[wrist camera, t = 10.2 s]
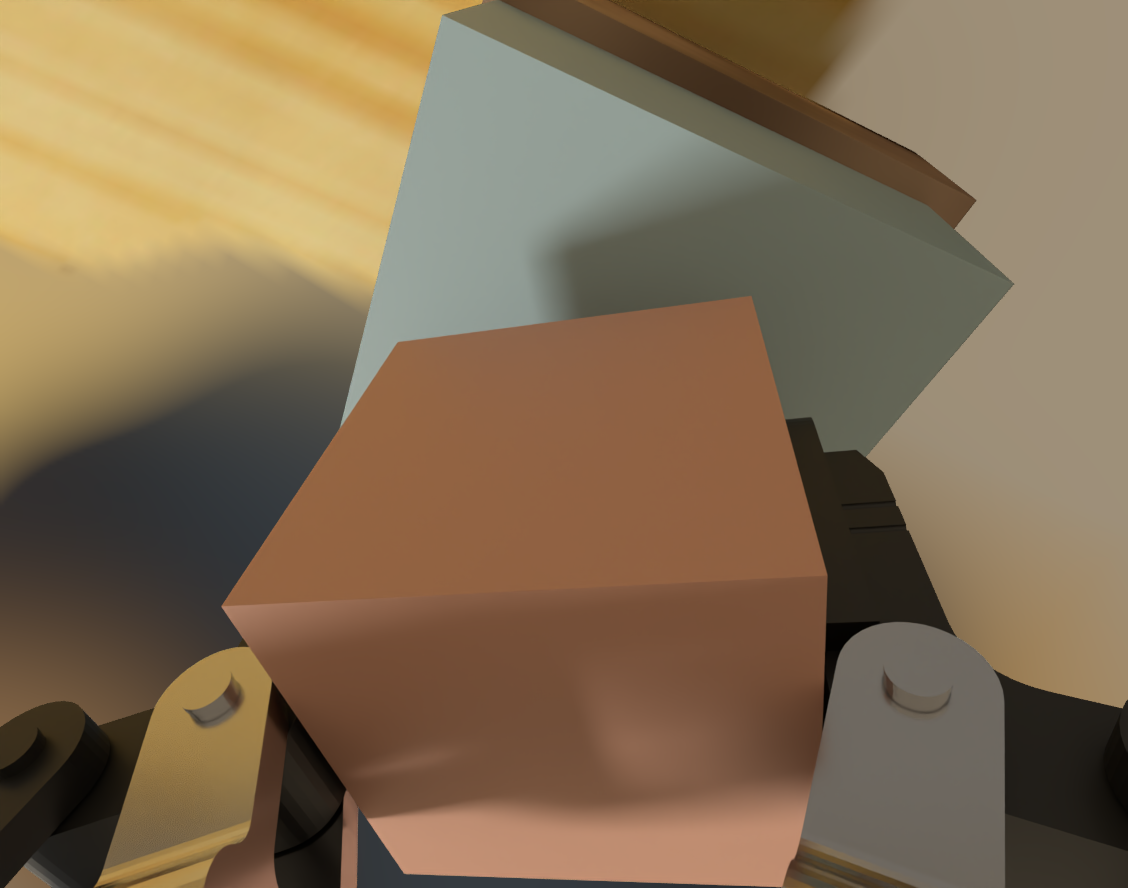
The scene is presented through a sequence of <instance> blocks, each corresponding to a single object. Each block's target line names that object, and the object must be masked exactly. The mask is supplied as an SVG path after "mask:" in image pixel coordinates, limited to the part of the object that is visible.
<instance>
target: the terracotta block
mask: <svg viewBox="0 0 1128 888" xmlns="http://www.w3.org/2000/svg"><path fill="white" fill-rule="evenodd" d="M827 577H828V575H827V572H826V568H825V564H824V561H823V557H822V553H821V550H820V546H819V542H818V539H817V535H816V531H815V528H814V524H813V520H812V517H811V513H810V509H809V506H808V502H807V498H806V494H805V491H804V487H803V483H802V480H801V476H800V472H799V469H798V465H797V461H796V458H795V454H794V450H793V447H792V443H791V439H790V436H789V432H788V428H787V425H786V421H785V417H784V414H783V410H782V406H781V403H780V399H779V395H778V392H777V388H776V384H775V381H774V377H773V373H772V370H771V366H770V362H769V359H768V355H767V351H766V347H765V344H764V340H763V336H762V333H761V329H760V325H759V322H758V318H757V314H756V311H755V307H754V303H753V300H752V296H747V297H739V298H731V299H724V300H716V301H708V302H701V303H693V304H685V305H678V306H670V307H663V308H655V309H647V310H640V311H632V312H624V313H617V314H609V315H601V316H594V317H586V318H578V319H571V320H563V321H555V322H548V323H540V324H532V325H525V326H517V327H509V328H502V329H494V330H486V331H479V332H471V333H463V334H456V335H448V336H440V337H433V338H425V339H417V340H410V341H402V342H397V344H396V345H395V347H394V348H393V350H392V351H391V353H390V354H389V356H388V357H387V359H386V360H385V362H384V363H383V365H382V366H381V368H380V369H379V371H378V372H377V374H376V375H375V377H374V378H373V380H372V381H371V383H370V384H369V386H368V387H367V389H366V390H365V392H364V393H363V395H362V396H361V398H360V399H359V401H358V402H357V404H356V405H355V407H354V408H353V410H352V411H351V413H350V414H349V416H348V417H347V419H346V420H345V422H344V423H343V425H342V426H341V428H340V429H339V431H338V433H337V434H336V435H335V437H334V438H333V440H332V441H331V443H330V444H329V446H328V447H327V449H326V450H325V452H324V453H323V455H322V456H321V458H320V459H319V461H318V462H317V464H316V465H315V467H314V468H313V470H312V471H311V473H310V474H309V476H308V477H307V479H306V480H305V482H304V483H303V485H302V486H301V488H300V489H299V491H298V492H297V494H296V495H295V497H294V498H293V500H292V501H291V503H290V504H289V506H288V507H287V509H286V510H285V512H284V513H283V515H282V516H281V518H280V519H279V521H278V523H277V524H276V525H275V527H274V529H273V530H272V531H271V533H270V534H269V536H268V537H267V539H266V540H265V542H264V544H263V545H262V546H261V548H260V549H259V551H258V552H257V554H256V555H255V557H254V558H253V560H252V561H251V563H250V564H249V566H248V567H247V569H246V570H245V572H244V573H243V575H242V576H241V578H240V579H239V581H238V582H237V584H236V585H235V587H234V588H233V590H232V591H231V593H230V594H229V596H228V597H227V599H226V600H225V602H224V603H223V605H222V608H223V609H224V611H225V612H226V614H227V615H228V617H229V618H230V620H231V621H232V623H233V624H234V626H235V627H236V628H237V630H238V631H239V633H240V634H241V636H242V637H243V639H244V640H245V642H246V643H247V645H248V646H249V647H250V649H251V650H252V652H253V653H254V655H255V656H256V658H257V659H258V661H259V662H260V664H261V665H262V666H263V668H264V669H265V671H266V672H267V674H268V675H269V677H270V678H271V680H272V681H273V683H274V684H275V685H276V687H277V688H278V690H279V691H280V693H281V694H282V696H283V697H284V699H285V700H286V702H287V703H288V704H289V706H290V707H291V709H292V710H293V712H294V713H295V715H296V716H297V718H298V719H299V720H300V722H301V723H302V725H303V726H304V728H305V729H306V731H307V732H308V734H309V735H310V737H311V738H312V739H313V741H314V742H315V744H316V745H317V747H318V748H319V750H320V751H321V753H322V754H323V756H324V757H325V758H326V760H327V761H328V763H329V764H330V766H331V767H332V769H333V770H334V772H335V773H336V775H337V776H338V777H339V779H340V780H341V782H342V783H343V785H344V786H345V788H346V789H347V791H348V792H349V794H350V795H351V796H352V798H353V799H354V801H355V802H356V804H357V805H358V807H359V808H360V810H361V811H362V812H363V814H364V815H365V817H366V818H367V820H368V821H369V823H370V824H371V825H372V827H373V828H374V830H375V831H376V833H377V834H378V836H379V837H380V839H381V840H382V842H383V843H384V845H385V846H386V848H387V849H388V850H389V852H390V853H391V855H392V856H393V858H394V859H395V861H396V862H397V864H398V865H399V867H400V868H401V869H402V871H403V872H404V873H405V874H425V875H453V876H455V875H457V876H483V877H511V878H512V877H513V878H540V879H568V880H596V881H626V882H654V883H683V884H713V885H739V886H767V887H782V886H783V882H784V878H785V875H786V872H787V869H788V866H789V864H790V861H791V860H792V859H794V858H795V855H796V853H797V849H798V846H799V842H800V837H801V833H802V828H803V823H804V819H805V814H806V809H807V804H808V799H809V795H810V790H811V785H812V780H813V775H814V770H815V766H816V761H817V756H818V751H819V746H820V742H821V737H822V727H823V697H824V667H825V637H826V607H827Z"/></svg>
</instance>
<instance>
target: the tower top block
mask: <svg viewBox="0 0 1128 888" xmlns="http://www.w3.org/2000/svg"><path fill="white" fill-rule="evenodd" d="M1012 285H1014V283H1012V281H1010V280H1009V279H1008V278H1007V277H1006V276H1005V275H1004V274H1003V273H1002V272H1000V271H999V270H998V269H997V268H996V267H995V266H994V265H993V264H992V263H991V262H989V261H988V260H987V259H986V258H985V257H984V256H983V255H982V254H980V252H979V251H977V250H976V249H975V248H974V247H973V246H972V245H971V244H970V243H969V242H967V241H966V240H965V239H964V238H963V237H962V236H961V235H960V234H959V233H958V232H956V231H955V230H954V229H953V228H952V227H951V226H950V225H949V224H948V223H947V222H945V221H944V220H943V219H942V218H941V217H940V216H939V215H938V214H937V213H936V212H934V211H933V210H932V209H931V208H930V207H929V206H928V205H926V204H924V203H922V202H920V201H917V200H915V199H913V198H911V197H909V196H907V195H905V194H903V193H901V192H899V191H897V190H895V189H892V188H890V187H888V186H886V185H884V184H882V183H880V182H878V181H876V180H874V179H872V178H869V177H867V176H865V175H863V174H861V173H859V172H857V171H855V170H853V169H851V168H849V167H847V166H844V165H842V164H840V163H838V162H836V161H834V160H832V159H830V158H828V157H826V156H824V155H822V154H819V153H817V152H815V151H813V150H811V149H809V148H807V147H805V146H803V145H801V144H799V143H796V142H794V141H792V140H790V139H788V138H786V137H784V136H782V135H780V134H778V133H776V132H774V131H771V130H769V129H767V128H765V127H763V126H761V125H759V124H757V123H755V122H753V121H751V120H749V119H746V118H744V117H742V116H740V115H738V114H736V113H734V112H732V111H730V110H728V109H726V108H724V107H721V106H719V105H717V104H715V103H713V102H711V101H709V100H707V99H705V98H703V97H701V96H698V95H696V94H694V93H692V92H690V91H688V90H686V89H684V88H682V87H680V86H678V85H676V84H673V83H671V82H669V81H667V80H665V79H663V78H661V77H659V76H657V75H655V74H653V73H651V72H648V71H646V70H644V69H642V68H640V67H638V66H636V65H634V64H632V63H630V62H628V61H626V60H623V59H621V58H619V57H617V56H615V55H613V54H611V53H609V52H607V51H605V50H603V49H600V48H598V47H596V46H594V45H592V44H590V43H588V42H586V41H584V40H582V39H580V38H577V37H575V36H573V35H571V34H569V33H567V32H565V31H563V30H561V29H559V28H557V27H554V26H552V25H550V24H548V23H546V22H544V21H542V20H540V19H538V18H536V17H534V16H532V15H529V14H527V13H525V12H523V11H521V10H519V9H517V8H515V7H513V6H511V5H509V4H506V3H504V2H502V1H500V0H494V1H491V2H487V3H484V4H480V5H476V6H473V7H469V8H466V9H462V10H459V11H455V12H452V13H448V14H444V15H442V18H441V22H440V26H439V30H438V34H437V38H436V42H435V46H434V50H433V54H432V58H431V62H430V67H429V71H428V75H427V79H426V83H425V87H424V91H423V95H422V99H421V103H420V107H419V111H418V115H417V119H416V123H415V127H414V131H413V135H412V139H411V143H410V147H409V151H408V155H407V159H406V163H405V168H404V172H403V176H402V180H401V184H400V188H399V192H398V196H397V200H396V204H395V208H394V212H393V216H392V220H391V224H390V228H389V232H388V236H387V240H386V244H385V248H384V252H383V256H382V260H381V264H380V269H379V273H378V277H377V281H376V285H375V289H374V293H373V297H372V301H371V305H370V309H369V313H368V317H367V321H366V326H365V329H364V334H363V337H362V341H361V346H360V349H359V354H358V357H357V361H356V365H355V370H354V374H353V378H352V382H351V386H350V390H349V394H348V398H347V402H346V406H345V410H344V414H343V418H342V422H341V426H342V425H343V423H344V422H345V420H346V419H347V417H348V416H349V414H350V413H351V411H352V410H353V408H354V407H355V405H356V404H357V402H358V401H359V399H360V398H361V396H362V395H363V393H364V392H365V390H366V389H367V387H368V386H369V384H370V383H371V381H372V380H373V378H374V377H375V375H376V374H377V372H378V371H379V369H380V368H381V366H382V365H383V363H384V362H385V360H386V359H387V357H388V356H389V354H390V353H391V351H392V350H393V348H394V347H395V345H396V344H397V342H402V341H410V340H417V339H425V338H433V337H440V336H448V335H456V334H463V333H471V332H479V331H486V330H494V329H502V328H509V327H517V326H525V325H532V324H540V323H548V322H555V321H563V320H571V319H578V318H586V317H594V316H601V315H609V314H617V313H624V312H632V311H640V310H647V309H655V308H663V307H670V306H678V305H685V304H693V303H701V302H708V301H716V300H724V299H731V298H739V297H747V296H752V300H753V303H754V307H755V311H756V314H757V318H758V322H759V325H760V329H761V333H762V336H763V340H764V344H765V347H766V351H767V355H768V359H769V362H770V366H771V370H772V373H773V377H774V381H775V384H776V388H777V392H778V395H779V399H780V403H781V406H782V410H783V414H784V417H785V419H795V418H805V417H811V418H812V419H813V421H814V424H815V427H816V430H817V433H818V436H819V439H820V442H821V445H822V448H823V451H824V452H835V451H847V450H857V451H859V452H860V453H861V454H862V455H863V456H864V457H866V456H867V455H868V454H869V453H870V451H871V450H872V449H873V448H874V447H875V445H876V444H877V443H878V442H879V441H880V440H881V438H882V437H883V436H884V435H885V434H886V433H887V432H888V430H889V429H890V428H891V427H892V426H893V424H894V423H895V422H896V421H897V420H898V419H899V417H900V416H901V415H902V414H903V413H904V412H905V411H906V409H907V408H908V407H909V406H910V405H911V404H912V402H913V401H914V400H915V399H916V398H917V397H918V395H919V394H920V393H921V392H922V391H923V390H924V388H925V387H926V386H927V385H928V384H929V383H930V381H931V380H932V379H933V378H934V377H935V376H936V374H937V373H938V372H939V371H940V370H941V369H942V367H943V366H944V365H945V364H946V363H947V361H948V360H949V359H950V358H951V357H952V356H953V355H954V353H955V352H956V351H957V350H958V349H959V347H960V346H961V345H962V344H963V343H964V342H965V341H966V339H967V338H968V337H969V336H970V335H971V334H972V332H973V331H974V330H975V329H976V328H977V327H978V325H979V324H980V323H981V322H982V320H984V318H985V317H986V316H987V315H988V314H989V312H990V311H991V310H992V309H993V308H994V307H995V306H996V304H997V303H998V302H999V301H1000V300H1001V298H1002V297H1003V296H1004V295H1005V294H1006V293H1007V292H1008V290H1009V289H1010V288H1011V287H1012ZM341 426H340V428H341Z"/></svg>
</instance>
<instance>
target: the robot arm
mask: <svg viewBox="0 0 1128 888" xmlns="http://www.w3.org/2000/svg"><path fill="white" fill-rule="evenodd" d="M785 421H786V425H787V428H788V432H789V436H790V439H791V443H792V447H793V450H794V454H795V458H796V461H797V465H798V469H799V472H800V476H801V480H802V483H803V487H804V491H805V494H806V498H807V502H808V506H809V509H810V513H811V517H812V520H813V524H814V528H815V531H816V535H817V539H818V542H819V546H820V550H821V553H822V557H823V561H824V564H825V568H826V572H827V575H828V577H827V607H826V637H825V667H824V697H823V727H822V737H821V742H820V746H819V751H818V756H817V761H816V766H815V770H814V775H813V780H812V785H811V790H810V795H809V799H808V804H807V809H806V814H805V819H804V823H803V828H802V833H801V837H800V842H799V846H798V849H797V853H796V855H795V858H794V859H792V860H791V861H790V864H789V866H788V869H787V872H786V875H785V878H784V882H783V886H782V888H1128V700H1127V701H1126V703H1125V705H1124V707H1123V709H1122V708H1118V707H1114V706H1109V705H1104V704H1101V703H1096V702H1092V701H1088V700H1083V699H1079V698H1074V697H1070V696H1066V695H1062V694H1057V693H1053V692H1048V691H1045V690H1041V689H1038V688H1034V687H1031V686H1028V685H1025V684H1023V683H1020V682H1017V681H1015V680H1013V679H1010V678H1009V677H1007V676H1005V675H1003V674H1001V673H999V672H997V671H995V670H994V669H993V668H992V667H991V666H990V664H989V663H988V662H987V661H986V660H985V658H984V657H983V656H982V655H980V654H979V653H978V652H977V651H976V650H975V649H974V648H973V647H971V646H970V645H968V644H967V643H965V642H964V641H963V640H961V639H959V638H957V636H956V635H955V634H954V632H953V630H952V628H951V626H950V625H949V623H948V620H947V618H946V616H945V614H944V611H943V609H942V607H941V604H940V602H939V600H938V597H937V595H936V593H935V590H934V588H933V586H932V583H931V581H930V579H929V577H928V574H927V572H926V570H925V567H924V565H923V563H922V560H921V558H920V556H919V553H918V551H917V549H916V546H915V544H914V542H913V540H912V537H911V535H910V533H909V531H907V530H906V524H905V521H904V519H903V516H902V514H901V512H900V509H899V508H898V506H896V502H895V501H896V500H895V498H894V496H893V493H892V491H891V489H890V487H889V484H888V482H887V479H886V477H885V475H884V473H883V472H882V471H881V470H880V469H879V468H878V467H876V466H875V465H874V464H873V463H872V462H870V461H869V460H868V459H867V458H866V457H864V456H863V455H862V454H861V453H860V452H859V451H857V450H847V451H835V452H824V451H823V448H822V445H821V442H820V439H819V436H818V433H817V430H816V427H815V424H814V421H813V419H812V418H811V417H805V418H795V419H785ZM357 834H358V805H357V804H356V802H355V801H354V799H353V798H352V796H351V795H350V794H349V792H348V791H347V789H346V788H345V786H344V785H343V783H342V782H341V780H340V779H339V777H338V776H337V775H336V773H335V772H334V770H333V769H332V767H331V766H330V764H329V763H328V761H327V760H326V758H325V757H324V756H323V754H322V753H321V751H320V750H319V748H318V747H317V745H316V744H315V742H314V741H313V739H312V738H311V737H310V735H309V734H308V732H307V731H306V729H305V728H304V726H303V725H302V723H301V722H300V720H299V719H298V718H297V716H296V715H295V713H294V712H293V710H292V709H291V707H290V706H289V704H288V703H287V702H286V700H285V699H284V697H283V696H282V694H281V693H280V691H279V690H278V688H277V687H276V685H275V684H274V683H273V681H272V680H271V678H270V677H269V675H268V674H267V672H266V671H265V669H264V668H263V666H262V665H261V664H260V662H259V661H258V659H257V658H256V656H255V655H254V653H253V652H252V650H251V649H250V647H249V646H248V645H247V643H246V642H245V640H244V639H242V641H241V642H240V644H239V646H238V647H237V648H232V649H227V650H223V651H221V652H218V653H215V654H213V655H211V656H208V657H207V658H205V659H203V660H201V661H199V662H198V663H196V664H194V665H193V666H192V667H190V668H189V669H188V670H186V671H185V672H184V673H182V674H181V675H180V676H179V677H178V678H177V679H176V680H175V681H174V682H173V683H172V684H171V685H170V686H169V687H168V688H167V690H166V691H165V692H164V694H163V695H162V696H161V698H160V699H159V701H158V703H157V704H156V706H155V708H153V709H150V710H147V711H144V712H141V713H137V714H134V715H131V716H128V717H125V718H122V719H118V720H115V721H112V722H109V723H106V724H103V725H99V726H98V725H97V724H96V723H95V722H94V721H93V720H92V719H91V718H90V717H89V716H88V715H87V714H86V713H85V712H84V711H83V710H82V709H81V708H80V707H79V706H78V705H77V704H75V703H72V702H66V701H61V702H53V703H47V704H44V705H41V706H38V707H35V708H33V709H31V710H29V711H26V712H24V713H23V714H21V715H19V716H17V717H15V718H14V719H12V720H10V721H9V722H8V723H6V724H4V725H3V726H1V727H0V888H4V887H5V886H6V885H7V884H8V883H9V881H10V880H11V879H12V878H13V877H14V876H15V875H16V874H17V872H18V871H19V870H20V869H21V868H22V867H23V866H24V867H25V868H27V869H28V870H29V871H30V872H32V873H33V874H35V875H36V876H37V877H38V878H40V879H41V880H43V881H44V882H45V883H46V884H48V885H49V886H50V887H51V888H357V837H358V835H357Z"/></svg>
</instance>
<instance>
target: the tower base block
mask: <svg viewBox="0 0 1128 888" xmlns="http://www.w3.org/2000/svg"><path fill="white" fill-rule="evenodd" d="M491 1H494V0H483V2H482V4H484V3H487V2H491ZM500 1H502V2H504V3H506V4H509V5H511V6H513V7H515V8H517V9H519V10H521V11H523V12H525V13H527V14H529V15H532V16H534V17H536V18H538V19H540V20H542V21H544V22H546V23H548V24H550V25H552V26H554V27H557V28H559V29H561V30H563V31H565V32H567V33H569V34H571V35H573V36H575V37H577V38H580V39H582V40H584V41H586V42H588V43H590V44H592V45H594V46H596V47H598V48H600V49H603V50H605V51H607V52H609V53H611V54H613V55H615V56H617V57H619V58H621V59H623V60H626V61H628V62H630V63H632V64H634V65H636V66H638V67H640V68H642V69H644V70H646V71H648V72H651V73H653V74H655V75H657V76H659V77H661V78H663V79H665V80H667V81H669V82H671V83H673V84H676V85H678V86H680V87H682V88H684V89H686V90H688V91H690V92H692V93H694V94H696V95H698V96H701V97H703V98H705V99H707V100H709V101H711V102H713V103H715V104H717V105H719V106H721V107H724V108H726V109H728V110H730V111H732V112H734V113H736V114H738V115H740V116H742V117H744V118H746V119H749V120H751V121H753V122H755V123H757V124H759V125H761V126H763V127H765V128H767V129H769V130H771V131H774V132H776V133H778V134H780V135H782V136H784V137H786V138H788V139H790V140H792V141H794V142H796V143H799V144H801V145H803V146H805V147H807V148H809V149H811V150H813V151H815V152H817V153H819V154H822V155H824V156H826V157H828V158H830V159H832V160H834V161H836V162H838V163H840V164H842V165H844V166H847V167H849V168H851V169H853V170H855V171H857V172H859V173H861V174H863V175H865V176H867V177H869V178H872V179H874V180H876V181H878V182H880V183H882V184H884V185H886V186H888V187H890V188H892V189H895V190H897V191H899V192H901V193H903V194H905V195H907V196H909V197H911V198H913V199H915V200H917V201H920V202H922V203H924V204H926V205H928V206H929V207H930V208H931V209H932V210H933V211H934V212H936V213H937V214H938V215H939V216H940V217H941V218H942V219H943V220H944V221H945V222H947V223H948V224H949V225H950V226H951V227H952V228H953V229H955V227H956V226H957V225H958V223H959V222H960V221H961V219H962V218H963V217H964V216H965V214H966V213H967V212H968V211H969V209H970V208H971V207H972V205H973V204H974V203H975V202H976V200H975V199H974V198H973V197H972V196H970V195H969V194H968V193H967V192H965V191H964V190H963V189H961V188H960V187H959V186H958V185H956V184H955V183H954V182H952V181H951V180H950V179H948V178H947V177H946V176H945V175H944V174H942V173H941V172H940V171H938V170H937V169H936V168H935V167H933V166H932V165H931V164H930V163H928V162H927V161H926V160H924V159H923V158H922V157H921V156H919V155H918V154H917V153H915V152H914V151H912V150H910V149H908V148H906V147H904V146H902V145H900V144H898V143H896V142H894V141H892V140H890V139H888V138H886V137H884V136H882V135H880V134H878V133H876V132H874V131H872V130H870V129H868V128H866V127H864V126H862V125H860V124H858V123H856V122H854V121H852V120H850V119H849V118H847V117H845V116H843V115H841V114H839V113H837V112H835V111H833V110H831V109H829V108H827V107H825V106H823V105H821V104H819V105H817V104H815V103H813V102H811V101H809V100H807V99H805V98H803V97H801V96H799V95H797V94H795V93H793V92H791V91H789V90H787V89H785V88H783V87H781V86H779V85H777V84H775V83H773V82H771V81H769V80H767V79H765V78H763V77H761V76H759V75H757V74H755V73H753V72H751V71H749V70H747V69H745V68H743V67H741V66H739V65H737V64H735V63H733V62H731V61H729V60H727V59H725V58H723V57H721V56H719V55H718V54H716V53H714V52H712V51H710V50H708V49H706V48H704V47H702V46H700V45H698V44H696V43H694V42H692V41H690V40H688V39H686V38H684V37H682V36H680V35H678V34H676V33H674V32H672V31H670V30H668V29H666V28H664V27H662V26H660V25H658V24H656V23H654V22H652V21H650V20H648V19H646V18H644V17H642V16H640V15H638V14H636V13H634V12H632V11H630V10H628V9H626V8H624V7H622V6H620V5H618V4H616V3H614V2H612V1H610V0H500Z"/></svg>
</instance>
